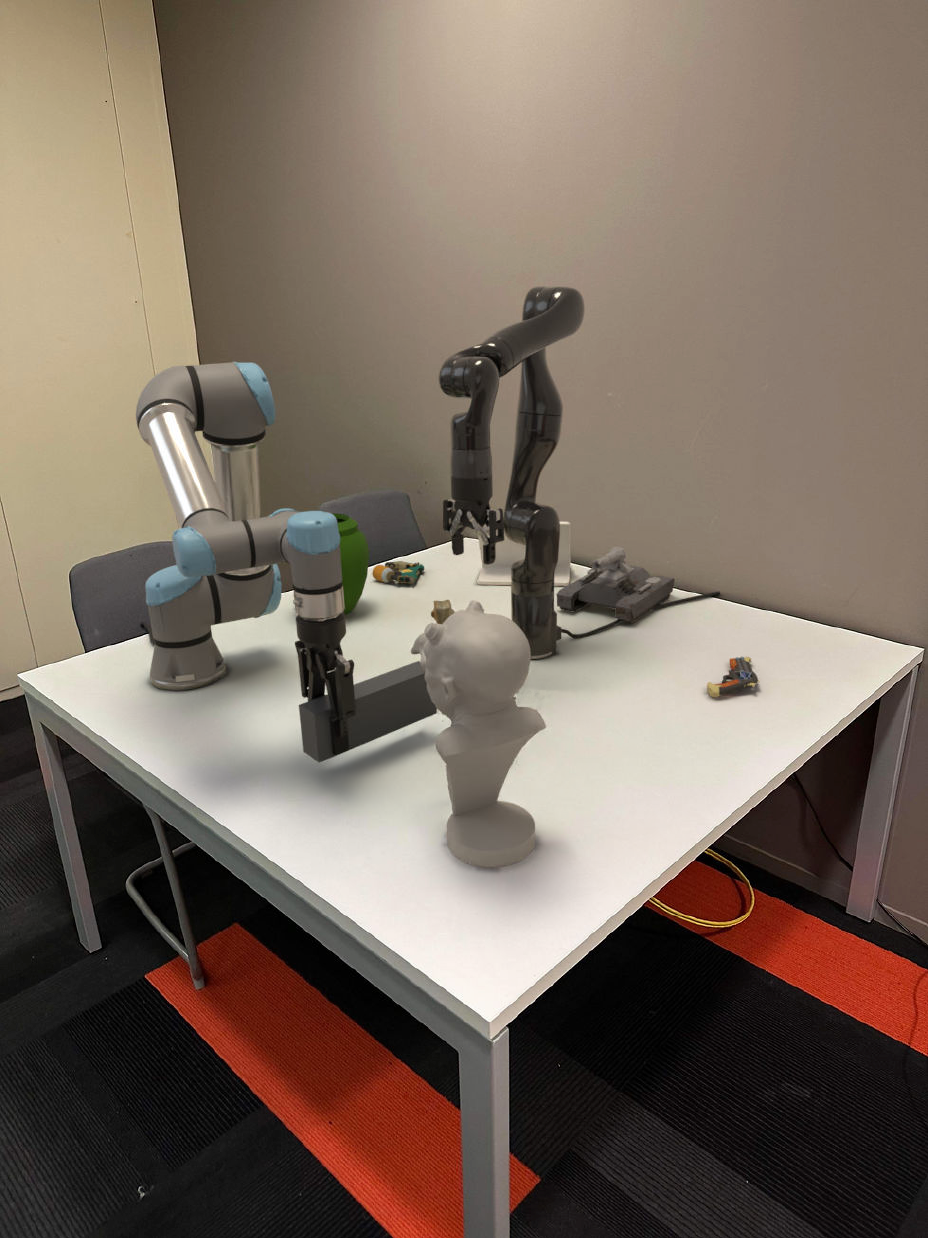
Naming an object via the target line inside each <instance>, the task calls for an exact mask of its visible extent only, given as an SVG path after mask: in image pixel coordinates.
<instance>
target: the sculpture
mask: <svg viewBox="0 0 928 1238" xmlns="http://www.w3.org/2000/svg"><path fill="white" fill-rule="evenodd" d="M455 612H456V611H455V609H453V608H452V602H451V601H450V599H445V600H433V610H431V612H430V617H431V618H432V619H433V620H434V621H435V622H436V623H435V624H443V623H444V622H445V620H446V619H447V618H448V617H450V616H451V615H452V614H453V613H455Z"/></svg>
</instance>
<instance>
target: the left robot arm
mask: <svg viewBox="0 0 928 1238" xmlns="http://www.w3.org/2000/svg"><path fill="white" fill-rule="evenodd" d="M275 406H276V405H275V400H274V396H273V392H272V389H271V385H270V383H269V380H268V378H267V376H266V374H265V372H264V370H263V369H262V368H261V366H260V365H258V364H257V363H255V362H237V361H232V362H221V363H219V362H218V363H205V364H192V365H184V364H183V365H174V366H172V367H171V366H170V367H167V368H165V369H163V370H162V371H160V372H159V373H157V374H155V375H154V376H153V377H152V378H151V379H150V380H149V381H148V382H147V383H146V385H145V386H144V387H143V389H142V391H141V393H140V395H139V397H138V401H137V404H136V407H135V408H136V409H135V421H136V425H137V430H138V432H139V434H140V437H141V439H142V440H143V442H145V444H146V445H148V446H150V448H151V450H152V453H153V456H154V458H155V462H156V464H157V467H158V470H159V473H160V475H161V479H162V482H163V485H164V487H165V490H166V492H167V495H168V498H169V500H170V503H171V506H172V509H173V512H174V514H175V517H176V521H177V523H178V525H179V528H178V529H175V530H173V533H172V536H171V542H172V549H173V555H174V558H175V564H174V565H171V566H167V567H165V568H162V569H160V570H158V571H156V572H155V573H153V574H151V575H150V576H149V577H148V578H147V580H146V581H145V585H144V589H145V603H146V605H147V608H148V614H149V620H150V625H149V623H147V621H144V620H143V621H141V622H140V623H139V626H140V627H144V628H145V629H146V631H147V632H148V636H149V640H150V642H151V644H152V645H153V646H154V647H153V652H152V658H151V663H150V668H149V677H150V682H151V684H152V685H153V686H154V687H155V688H157V689H159V690H166V691H187V690H194V689H198V688H203V687H206V686H209V685H210V684H213V683H215V682H217V681H218V680H220V679H221V678H223V677H224V676H225V674H226V672H227V668H226V662H225V659H224V657H223V655H222V653H221V651H220V649H219V648H218V645H217V643H216V642H215V640H214V638H213V633H212V626H215V625H221V624H226V623H231V622H237V621H241V620H248V619H252V618H253V619H258V618H261V617H262V616H267V615H271V614H273V613H274V612H276V611H277V610H278V608H279V606H280V604H281V600H282V589H283V586H282V581H281V571H280V568H279V566H278V565H279V564H283V563H284V564H285V563H287V564H288V565H289V566H290V573H291V581H292V590H293V598H294V599H293V600H292V603H293V605H294V612H295V614H296V617H295V625H296V635H297V638H298V640H296V641H294V646H295V650H296V654H297V660H298V672H299V681H300V692H301V696H302V698H303V699H305V698H307V702H308V701H311V700H314V699H316V698H319V697H322V696H324V695H326V692H327V694H328V697H329V702H330V706H331V711H332V716H333V717H330V718H329V720H330V728H331V740H332V751H333V755H335V757H337V756H339V755H342V754H344V753H346V752H349V751H350V750H349V739H348V720H347V719H348V718H351V717H353V716H355V715H356V708H355V695H354V684H355V683H354V669H355V662H354V660H353V659H348V660H347V659H346V658H345V657H344V652H343V649H342V646H341V642H342V640H343V639H344V637H345V636H346V634H347V623H346V616H345V614H344V612H343V611H344V609H345V605H344V594H343V584H342V570H341V555H340V534H339V531H338V524H337V519H336V517H335V516H334V515H333V514H331V513H332V512H327V511H323V510H308V511H298V510H296V509H293V508H285V507H284V508H279V509H277V510H275V511H273V512H272V513H271V514H269V515H268V516H262V501H261V499H262V498H261V479H260V478H261V477H260V460H259V459H260V458H259V445H260V444H261V443H262V441H264V440H265V438H266V436H267V435H266V426H267V427H270V426H272V425H274V423H276V407H275ZM196 432H201V433H202V438H203V440H204V441H205V442H207V443H208V444H209V445H211V451H212V464H213V475H212V472H211V470H210V467H209V465H208V462H207V460H206V458H205V455H204V453H203V451H202V448H201V445H200V443H199V441H198V437H197V435H196ZM348 750H349V751H348ZM343 752H344V753H343ZM341 753H342V754H341ZM338 754H339V755H338ZM336 755H337V756H336Z"/></svg>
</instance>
